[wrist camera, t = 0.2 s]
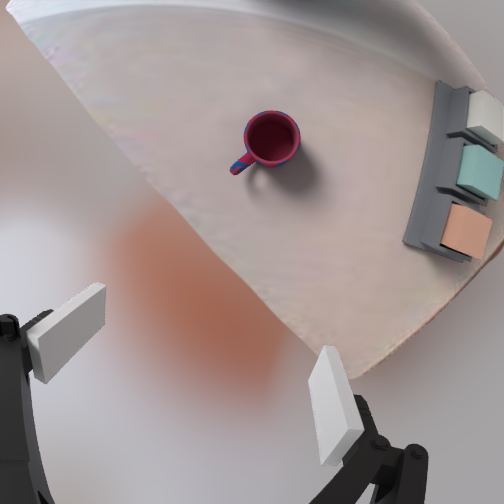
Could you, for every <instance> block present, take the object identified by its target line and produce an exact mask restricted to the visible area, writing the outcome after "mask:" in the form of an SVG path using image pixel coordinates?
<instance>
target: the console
mask: <svg viewBox="0 0 504 504" xmlns="http://www.w3.org/2000/svg"><path fill="white" fill-rule="evenodd" d="M472 93H475V91H474V90H472V89H471V88H469V87H468V86H464V87H462V88H459V89H457V90H456V89H454V88H452V87H451V86H449V85H447V84H446V83H444V82H442V81H440V80H439V81H437V82H436V89H435V97H434V105H433V112H432V119H431V125H430V131H429V137H428V142H427V148H426V153H425V158H424V162H423V167H422V171H421V176H420V180H419V184H418V188H417V192H416V196H415V200H414V204H413V207H412V211H411V214H410V218H409V221H408V225H407V228H406V231H405V235H404V238H403V241H402V242H404V243H407V244H410V245H413V246H415V247H418V248H421V249H424V250H427V251H430V252H433V253H436V254H439V255H442V256H444V257H447V258H450V259H453V260H455V261H458V262H461V263H463V260H464V259H465V260H467V261H470V262H471V259H472V256H470V255H467V254H465V253H462V252H460V251H457V250H455V249H452V248H450V247H448V246H446V245H444V244H441V243H440V242H441V238H442V235H443V232H444V228H445V225H446V221H447V218H448V214H449V210H450V207H451V203H452V204H457V205H461V206H466V207H468V208H470V209H472V210H474V211H476V212H478V213H480V214H482V215H485V212H483V211H481V210H479V205H482V206H487V202H488V199H486V198H480V197H476V196H475V195H473V194H471V193H469V192H467V191H465V190H463V189H461V188H459V187H458V186H456V181H457V177H458V172H459V167H460V161H461V156H462V150H463V146H469V145H480V146H482V147H483V148H485V149H486V150H488V151H489V152H491V153H496V152H497V144H493V145H490V144H488V143H487V142H485V141H484V140H482V139H481V138H479V137H478V136H476V135H474V134H473V133H471V132H470V131H468V130H466V121H467V112H468V101H469V94H472Z"/></svg>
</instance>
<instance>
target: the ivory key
mask: <svg viewBox="0 0 504 504" xmlns="http://www.w3.org/2000/svg"><path fill="white" fill-rule="evenodd" d="M466 130H468V131H470V132H471V133H473V134H474V135H476V136H478V137H479V138H481V139H482V140H484V141H485V142H487V143H488V144H490V145H493V144H504V105H503V104H502V103H501V102H499V101H498V100H497V99H495V98H494V97H493V96H491V95H490V94H489V93H487V92H486V91H485V90H481V91H478V92H475V93H472V94H469V101H468V112H467V121H466Z"/></svg>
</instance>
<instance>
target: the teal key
mask: <svg viewBox="0 0 504 504" xmlns="http://www.w3.org/2000/svg"><path fill="white" fill-rule="evenodd" d="M503 168H504V161H502V160H501V159H499V158H498V157H496V156H495V155H494V154H492V153H491V152H489V151H488V150H486V149H485V148H483V147H482V146H480V145H469V146H463V150H462V156H461V161H460V167H459V172H458V177H457V181H456V186H458V187H459V188H461V189H463V190H465V191H467V192H469V193H471V194H473V195H475V196H476V197H480V198H486V199H492V200H497V201H498V196H499V191H500V186H501V180H502V175H503Z"/></svg>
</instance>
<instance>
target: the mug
mask: <svg viewBox="0 0 504 504" xmlns="http://www.w3.org/2000/svg"><path fill="white" fill-rule="evenodd" d="M300 138H301V137H300V131H299V128H298V126H297V124H296V123H295V121H294V120H293V119H292V118H291V117H290V116H288V115H287V114H285V113H282V112H279V111H265V112H261V113H259V114H257V115H256V116H254V117H253V118H252V119H251V120H250V121H249V122H248V124H247V126H246V128H245V132H244V143H245V146H246V149H247V153H246V154H245V155H244V156H243V157H241V158H240V159H239V160H238V161H237V162H235V163H234V164H233V165H232V166H231V168H230V172H231V173H232V174H233V175H238V174H239V173H241V172H242V171H243V170H244V169H246V168H247V167H248V166H250V165H251V164H253V163H254V162H258V163H259V164H261V165H264V166H267V167H276V166H280V165H282V164H284V163H286V162H287V161H288V160H289V159H291V158H292V157H293V156H294V155H295V153H296V152H297V150H298V148H299V145H300Z"/></svg>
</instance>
